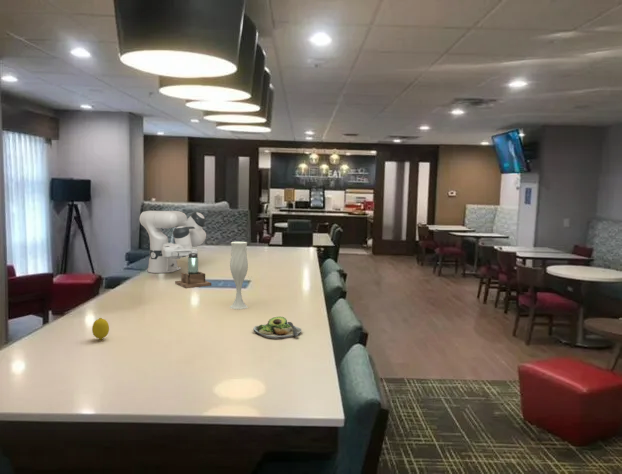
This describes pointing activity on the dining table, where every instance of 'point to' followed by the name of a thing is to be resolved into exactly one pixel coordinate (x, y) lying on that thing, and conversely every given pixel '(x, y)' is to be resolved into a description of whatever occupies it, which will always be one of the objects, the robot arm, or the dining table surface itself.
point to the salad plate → (277, 329)
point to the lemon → (100, 328)
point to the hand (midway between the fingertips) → (185, 254)
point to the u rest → (193, 280)
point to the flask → (193, 263)
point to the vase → (239, 271)
